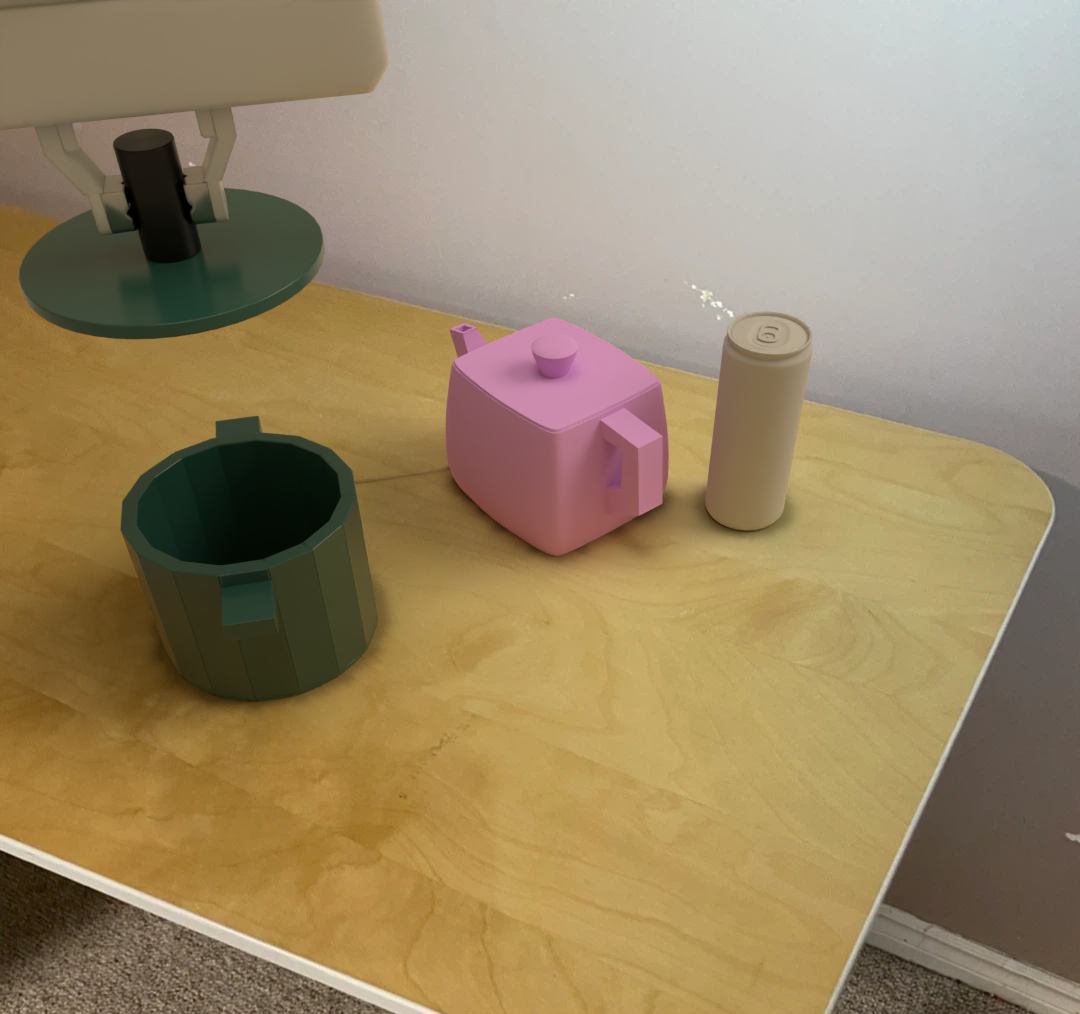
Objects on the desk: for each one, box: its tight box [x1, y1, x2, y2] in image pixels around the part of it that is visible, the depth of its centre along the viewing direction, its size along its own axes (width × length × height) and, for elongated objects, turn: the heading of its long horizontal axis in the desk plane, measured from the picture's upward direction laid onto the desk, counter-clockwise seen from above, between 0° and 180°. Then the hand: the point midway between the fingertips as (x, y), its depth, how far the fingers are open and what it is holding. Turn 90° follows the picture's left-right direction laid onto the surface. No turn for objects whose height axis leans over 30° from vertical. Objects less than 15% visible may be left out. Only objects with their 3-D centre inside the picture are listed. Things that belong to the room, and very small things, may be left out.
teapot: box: [445, 317, 670, 557], centre depth 67 cm, size 18×10×10 cm, turn 39°
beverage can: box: [704, 310, 813, 532], centre depth 65 cm, size 5×5×12 cm
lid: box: [18, 128, 326, 340], centre depth 47 cm, size 13×13×6 cm
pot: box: [119, 415, 379, 702], centre depth 59 cm, size 12×17×9 cm
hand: (165, 223), depth 47 cm, fingers closed on lid, 2 cm apart
